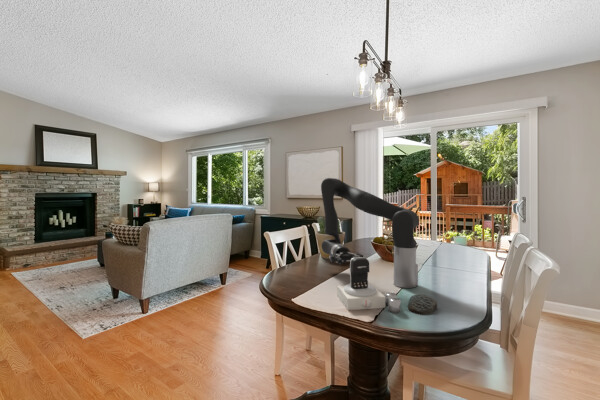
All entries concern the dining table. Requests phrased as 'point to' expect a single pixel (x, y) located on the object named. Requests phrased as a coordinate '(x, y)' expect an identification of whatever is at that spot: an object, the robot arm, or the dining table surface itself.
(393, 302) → the spacer
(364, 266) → the battery
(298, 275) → the dining table surface
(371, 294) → the scale
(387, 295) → the spacer
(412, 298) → the fossil
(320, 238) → the potted plant
